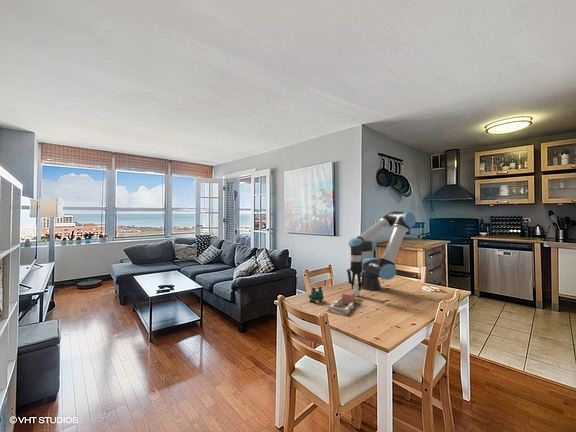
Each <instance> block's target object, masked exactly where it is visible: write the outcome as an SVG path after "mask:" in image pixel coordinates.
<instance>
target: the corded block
mask: <svg viewBox="0 0 576 432" xmlns="http://www.w3.org/2000/svg"><path fill="white" fill-rule="evenodd" d="M357 286H358V282H357V283H356V282H354V292H353V291H347V290H345V291H343V292H342V294H341V298H342V303H343V304H348V305H349V304H350V303H351V302H352V303H354V302H355V299H356V297H358V296H359V295H357Z"/></svg>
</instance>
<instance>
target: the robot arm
mask: <svg viewBox="0 0 576 432" xmlns="http://www.w3.org/2000/svg"><path fill="white" fill-rule="evenodd" d="M416 221H417V219H416V216H415V214H414V213H413V212H412V211H407V210H405V211H403V210H401V211H400V210H399V211H398V210H397V211H396V210H395V211H391V212H389V213H387V214H385V215H383V216H382V217H381V218H379V221H377V222H376V223H375V224H373V225H372V226H370V227H369V228H368V229H366V230H365V231H363V232H362V233H361V234H359V235H358V236H357V237H355V238H354V237H353V238H351V239H349V240H348V247H350V267H349V268H348V269H346V272H347V278H348V284H349V285H351V290H352V292H354V284H355V280H356V278H355V277H356V276H357V283H358V286H357V295H358V296H360V294H361V293H360V292H361V290H362V289H363V290H367V291H379V290H381V289H382V287H381V286H382V285H381V282H380V279H382V280H392V279H393V278H394V277H395V276H396V273H397V267H396V262H395V260H396V258H397V255H398V253H399V251H400V248H401V245H402V242H403V239H404V237H405V234H406V232H407V233H408V232H409V231H410V229H411V228H413V227H414V226H415V225H416ZM390 227H393V230H392V231H391V235H390V237H389V240H388V241H387V244H386V247H385V250H384V251H383V254H382V256H381V257H379V258H378V257H367V258H363V253H365V252H374V251H376V250H377V243H376V241H375V240H372V239H374V238H375V237H376V236H377V235H379V234H380V233H382V232H383V231H385V230H386V229H390ZM362 259H363V260H362ZM351 273H352V274H351ZM361 274H362V275H361ZM379 278H380V279H379Z"/></svg>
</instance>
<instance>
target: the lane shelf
mask: <svg viewBox="0 0 576 432" xmlns="http://www.w3.org/2000/svg"><path fill="white" fill-rule="evenodd" d="M363 302H364V299H359V298H355V302H354V303H352V302H351V303H350V304H349V305H348V304H343V303H342V297H341V298H340V299H336V300H335V301H334V302H333V303H331V304H330V305H329V306H328V309H327V310H326V312H328V313H333V314H337V315H342V316H345V317H350V316H351V315H352V314H353V313H354V312H355V311H356V309H357V308H359V306H360V305H361V304H362V303H363Z"/></svg>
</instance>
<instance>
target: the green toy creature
mask: <svg viewBox="0 0 576 432" xmlns="http://www.w3.org/2000/svg"><path fill="white" fill-rule="evenodd" d="M322 288H323V287H322V286H319V287H318V290H316V288H315V287H312V288H311V289H312V290H311V291H310V294H309V295H308V299H309V302H311V303H312V304H316V303H317V302H318V303H320V304H321V303H323V302H324V301H323V300H324V291H323V290H322ZM316 301H317V302H316Z"/></svg>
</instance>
